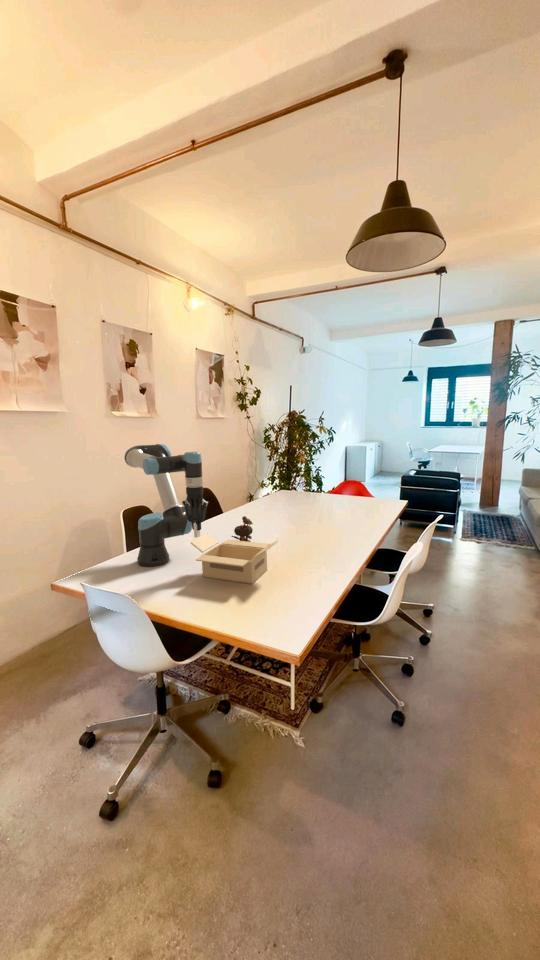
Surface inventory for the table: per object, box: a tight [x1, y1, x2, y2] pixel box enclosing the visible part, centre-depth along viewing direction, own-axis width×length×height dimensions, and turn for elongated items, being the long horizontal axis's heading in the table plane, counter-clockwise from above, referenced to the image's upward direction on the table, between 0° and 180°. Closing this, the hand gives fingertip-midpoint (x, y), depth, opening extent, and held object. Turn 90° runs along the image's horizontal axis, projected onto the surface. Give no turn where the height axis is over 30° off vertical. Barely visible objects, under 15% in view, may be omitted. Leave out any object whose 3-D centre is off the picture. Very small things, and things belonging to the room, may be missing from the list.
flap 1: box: [190, 533, 219, 554], centre depth 174 cm, size 1×14×7 cm
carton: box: [195, 539, 271, 585], centre depth 169 cm, size 24×28×10 cm
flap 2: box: [252, 540, 279, 559], centre depth 162 cm, size 1×14×7 cm
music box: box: [231, 515, 254, 542], centre depth 194 cm, size 15×11×20 cm
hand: (197, 536), depth 175 cm, fingers closed
